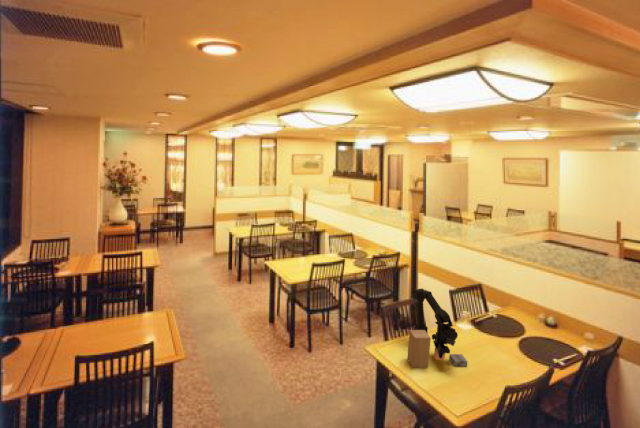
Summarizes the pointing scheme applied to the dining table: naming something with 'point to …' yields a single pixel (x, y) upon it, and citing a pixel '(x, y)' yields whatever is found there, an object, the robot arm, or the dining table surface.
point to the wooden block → (418, 348)
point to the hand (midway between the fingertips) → (439, 355)
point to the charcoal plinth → (458, 360)
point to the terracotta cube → (438, 355)
